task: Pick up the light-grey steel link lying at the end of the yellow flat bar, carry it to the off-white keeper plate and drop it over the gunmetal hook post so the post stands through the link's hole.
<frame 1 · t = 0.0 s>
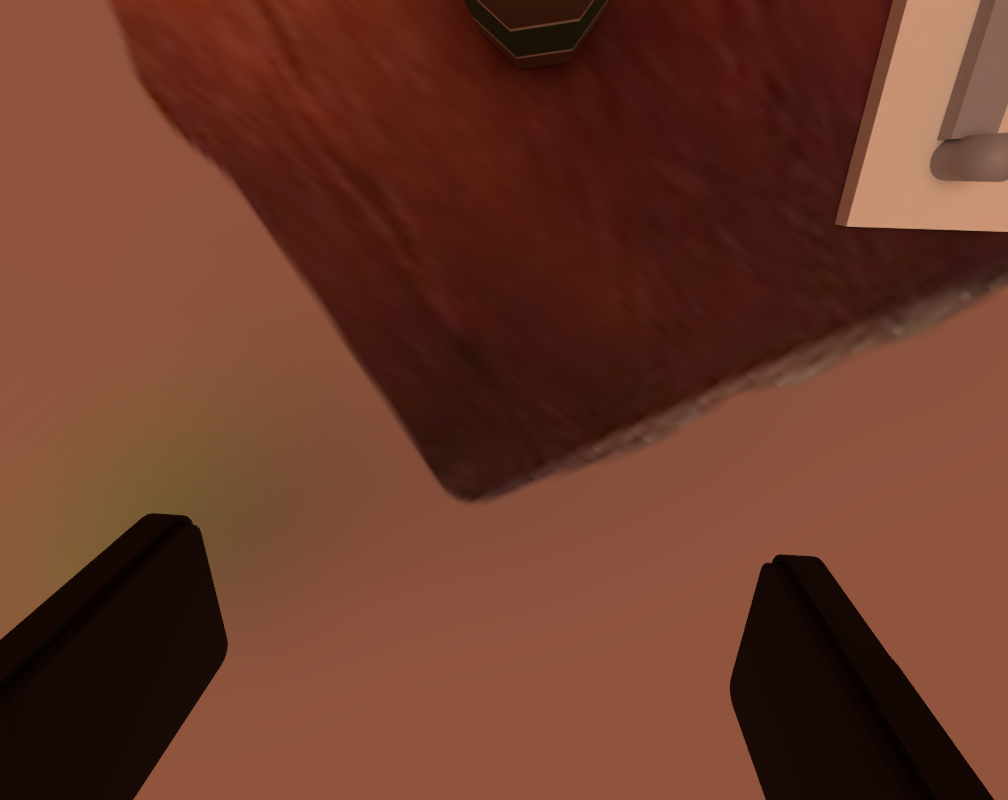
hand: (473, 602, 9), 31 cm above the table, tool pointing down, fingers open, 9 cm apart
keeper: (952, 104, 32), on the table
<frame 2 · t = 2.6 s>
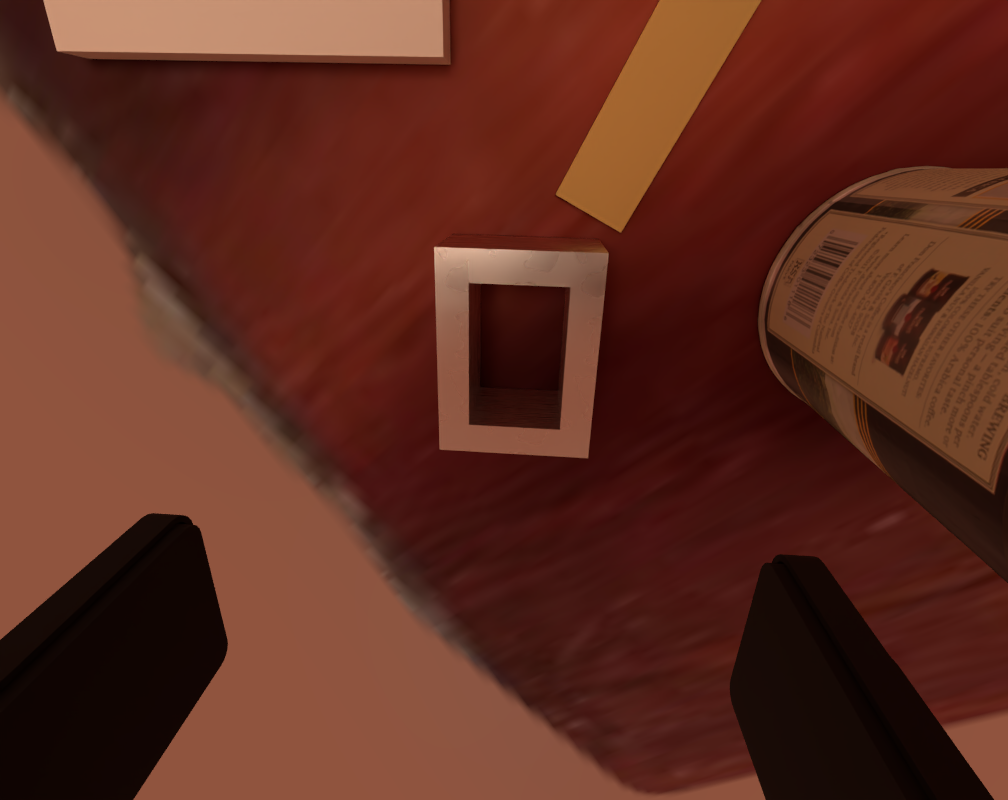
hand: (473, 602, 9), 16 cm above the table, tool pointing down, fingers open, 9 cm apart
link: (521, 330, 24), on the table
yellow flat bar: (652, 99, 20), on the table
coffee can: (884, 298, 22), on the table
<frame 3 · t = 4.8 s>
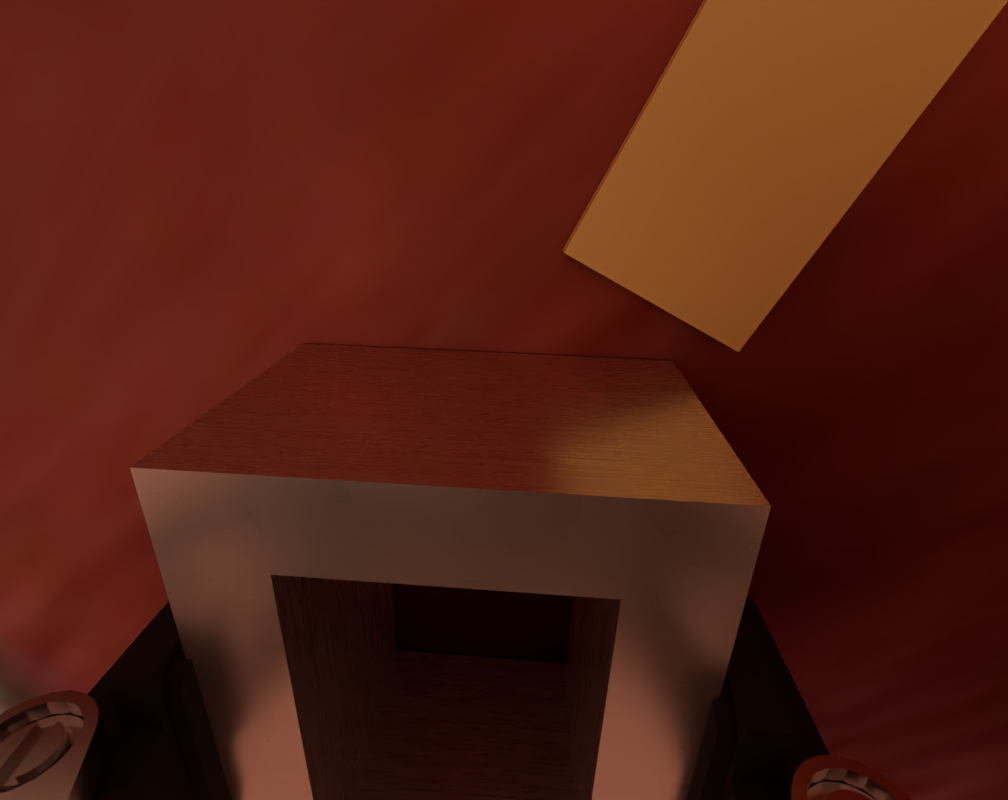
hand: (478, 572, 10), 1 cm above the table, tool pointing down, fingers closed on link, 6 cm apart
link: (482, 550, 10), on the table, touching gripper
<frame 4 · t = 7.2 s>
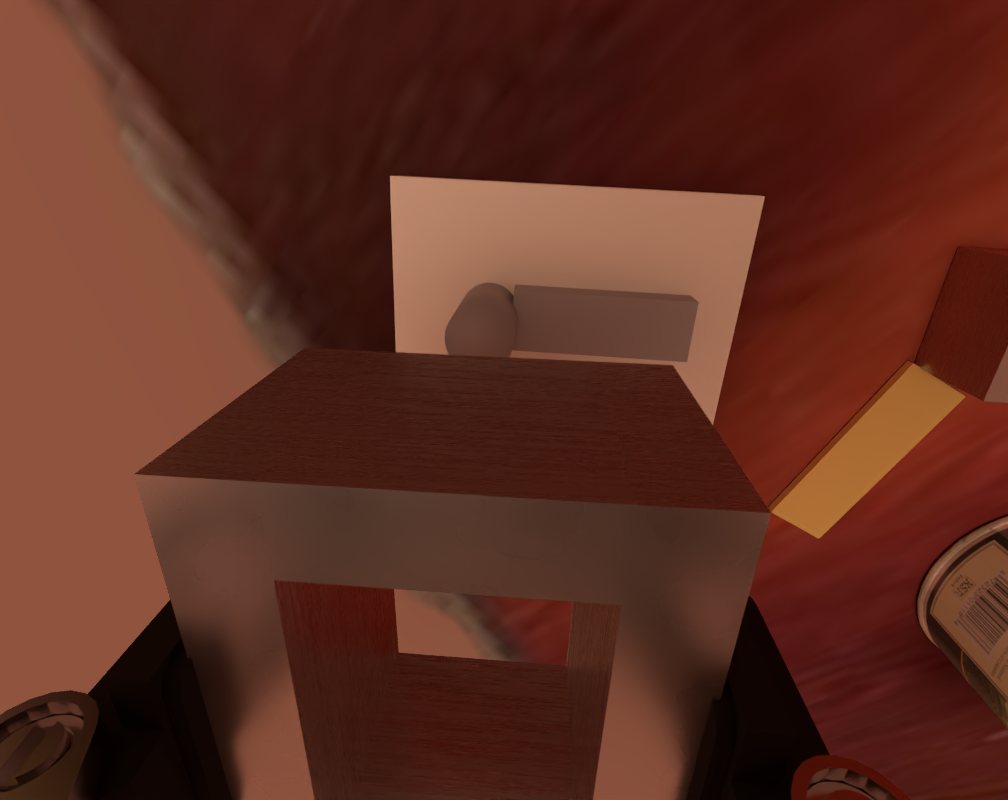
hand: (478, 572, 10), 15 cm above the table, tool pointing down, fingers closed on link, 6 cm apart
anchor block: (997, 312, 22), on the table
link: (483, 553, 10), point 15 cm above the table, touching gripper
keeper: (561, 308, 23), on the table
yellow flat bar: (857, 453, 25), on the table
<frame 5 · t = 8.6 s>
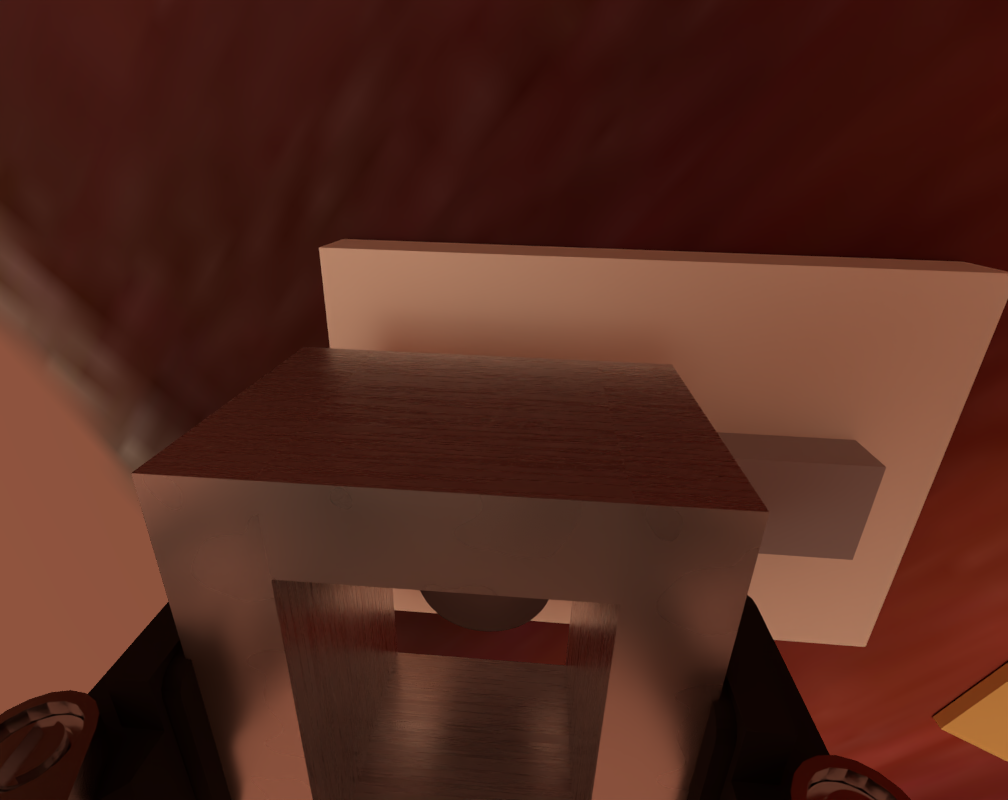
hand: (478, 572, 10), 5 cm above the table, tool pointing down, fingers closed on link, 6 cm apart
link: (482, 553, 10), point 5 cm above the table, touching gripper
keeper: (618, 442, 14), on the table
when the fingers open (4 cm above the table, at t = 9.6 s): link drops 1 cm, resting on keeper.
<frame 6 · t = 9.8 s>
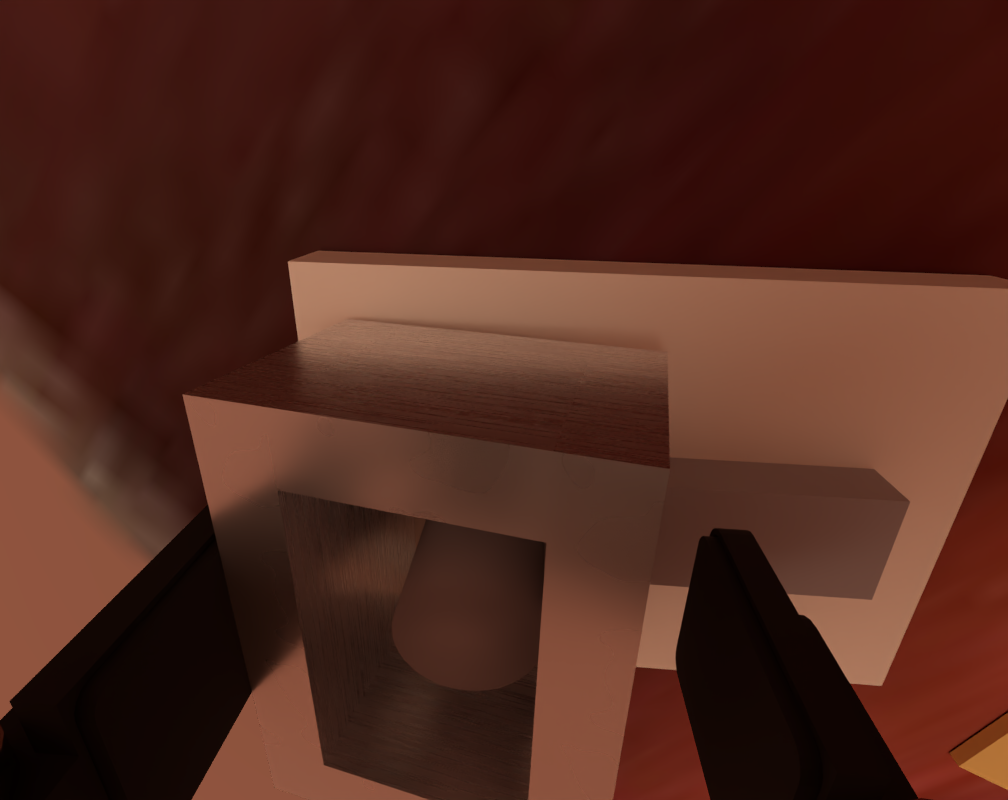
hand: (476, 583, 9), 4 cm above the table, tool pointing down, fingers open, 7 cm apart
link: (492, 517, 11), point 2 cm above the table, tilted 12°, touching gripper, keeper
keeper: (616, 468, 13), on the table
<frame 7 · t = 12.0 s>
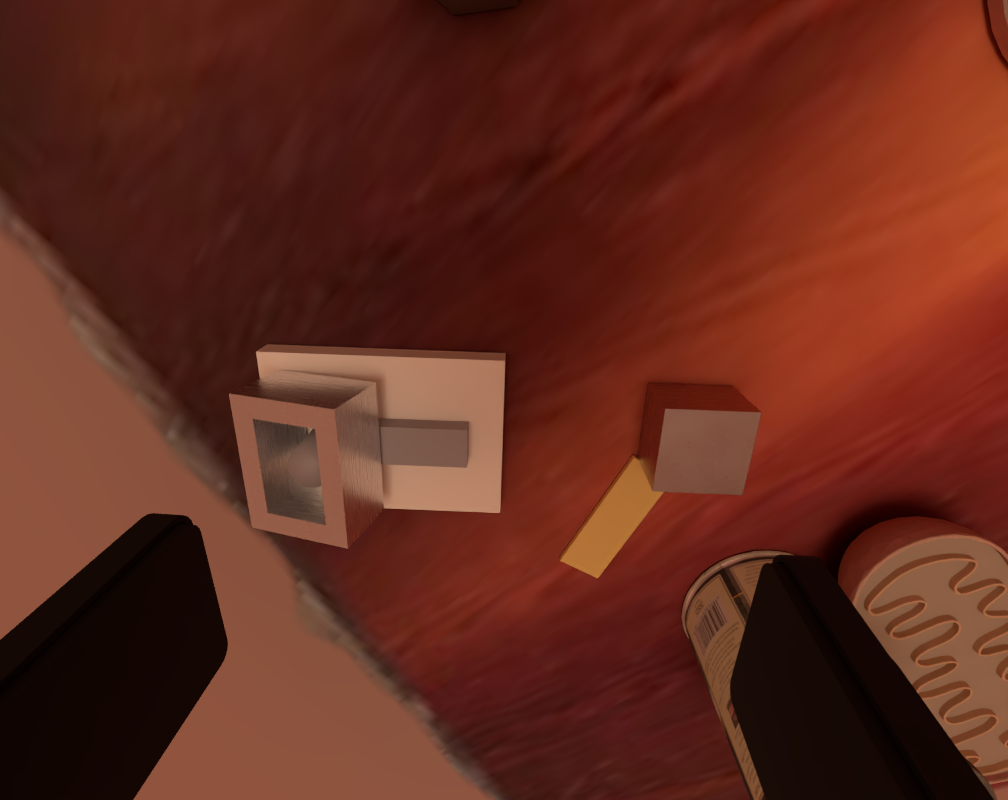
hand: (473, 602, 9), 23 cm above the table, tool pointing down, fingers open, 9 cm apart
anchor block: (683, 422, 32), on the table
link: (333, 440, 31), point 2 cm above the table, tilted 14°, touching keeper
mitochondrion model: (916, 610, 38), on the table, touching coffee can
keeper: (390, 426, 33), on the table
yellow flat bar: (613, 517, 35), on the table
coffee can: (753, 605, 38), on the table, touching mitochondrion model
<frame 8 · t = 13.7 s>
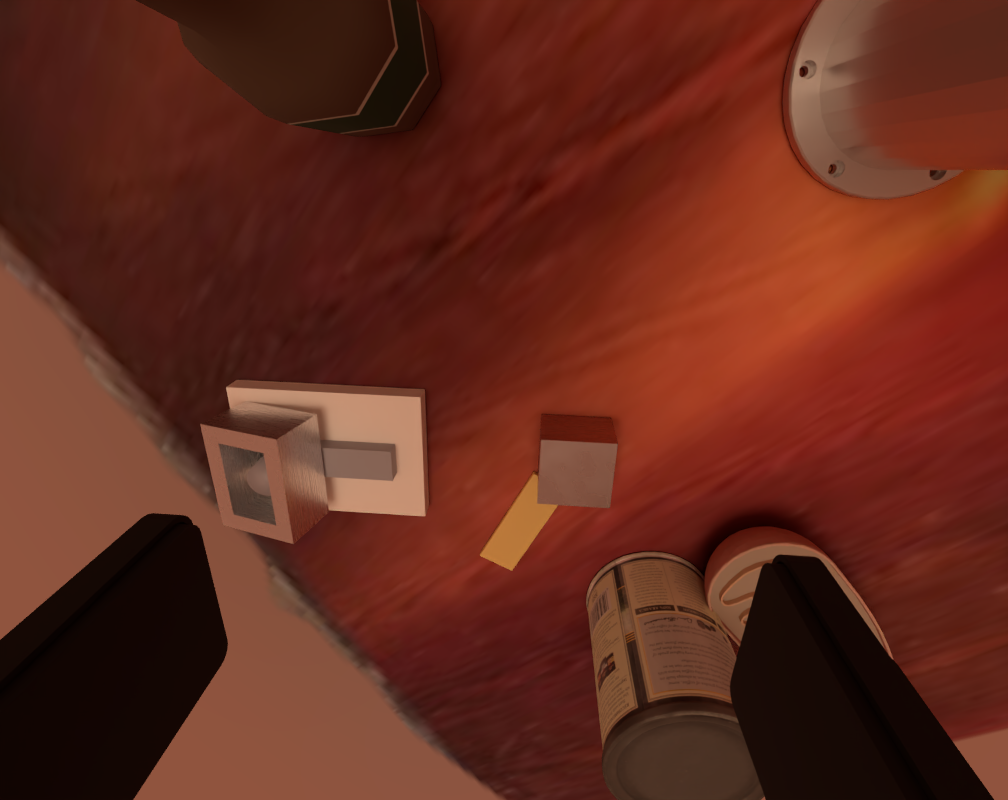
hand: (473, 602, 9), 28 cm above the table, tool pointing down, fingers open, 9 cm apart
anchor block: (573, 446, 39), on the table
link: (288, 457, 39), point 2 cm above the table, tilted 14°, touching keeper
mitochondrion model: (785, 604, 44), on the table
beer bottle: (380, 66, 31), on the table
keeper: (336, 444, 41), on the table
yellow flat bar: (522, 521, 42), on the table
coffee can: (647, 597, 45), on the table
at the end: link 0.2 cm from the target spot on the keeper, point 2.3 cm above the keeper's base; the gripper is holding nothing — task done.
